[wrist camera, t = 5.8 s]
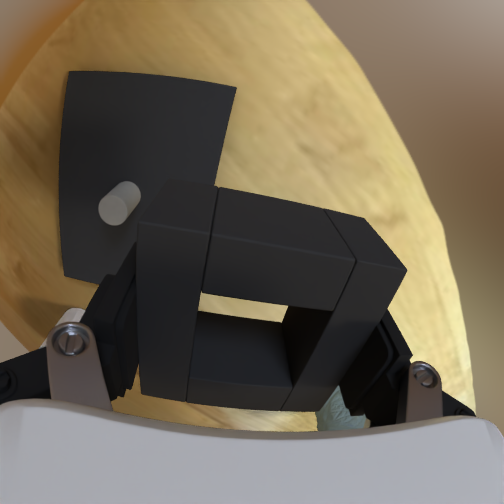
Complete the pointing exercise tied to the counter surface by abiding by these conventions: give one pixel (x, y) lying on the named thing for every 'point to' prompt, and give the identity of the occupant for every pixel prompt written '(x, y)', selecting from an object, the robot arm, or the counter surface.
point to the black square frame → (254, 297)
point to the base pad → (129, 157)
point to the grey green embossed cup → (337, 415)
